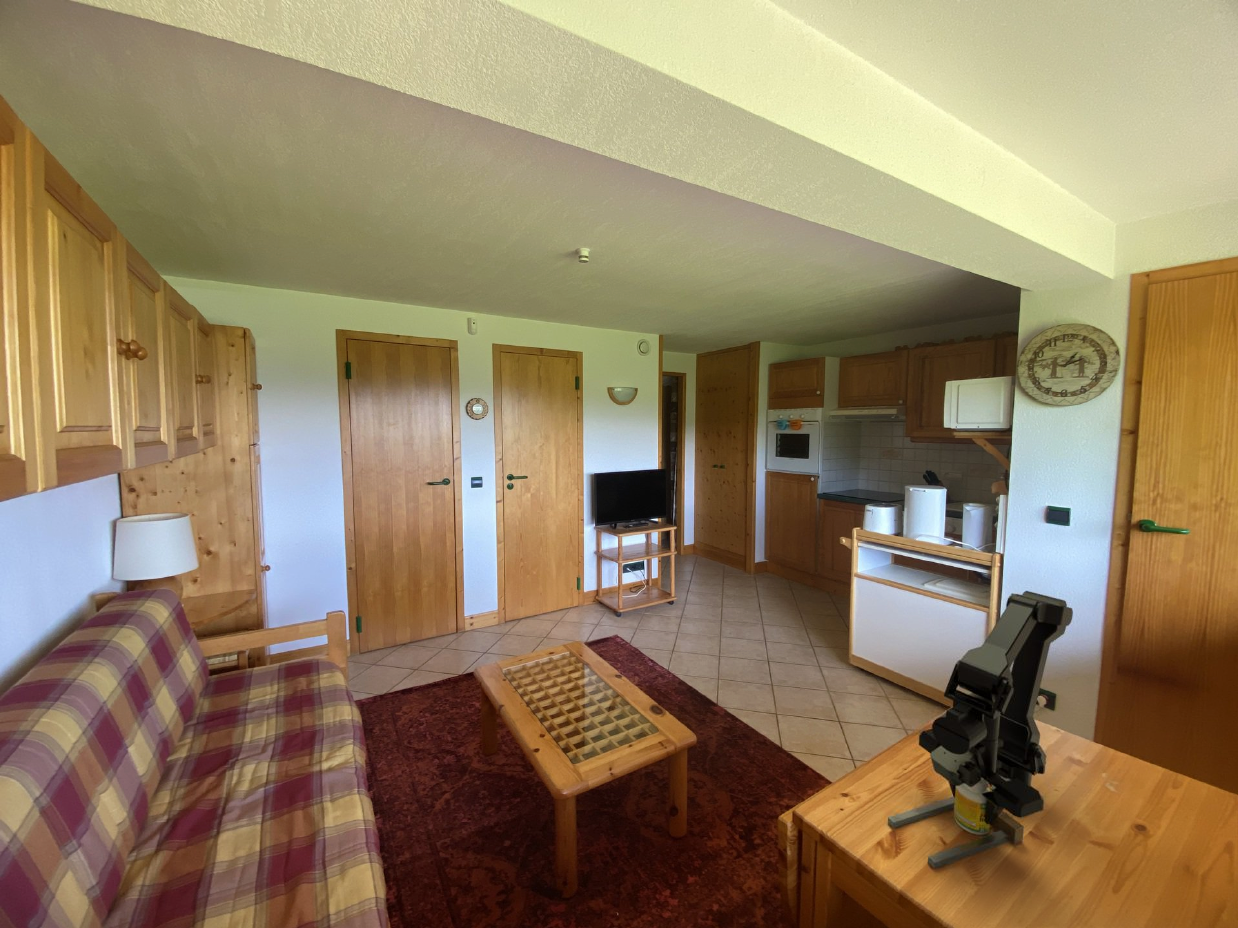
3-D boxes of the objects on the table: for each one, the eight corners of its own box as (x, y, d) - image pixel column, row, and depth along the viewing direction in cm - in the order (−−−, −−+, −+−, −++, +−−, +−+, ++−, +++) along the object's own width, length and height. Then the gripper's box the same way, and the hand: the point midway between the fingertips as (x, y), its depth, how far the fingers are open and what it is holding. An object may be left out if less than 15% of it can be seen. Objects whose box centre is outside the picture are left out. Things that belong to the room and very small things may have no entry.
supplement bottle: (961, 807, 93) (964, 760, 91) (994, 826, 88) (998, 778, 87) (947, 820, 90) (951, 772, 89) (982, 841, 85) (986, 791, 84)
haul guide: (961, 794, 95) (962, 780, 95) (1022, 841, 85) (1023, 826, 85) (884, 819, 90) (884, 804, 90) (938, 873, 80) (939, 856, 79)
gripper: (898, 708, 93) (894, 783, 95) (999, 778, 76) (991, 869, 77) (942, 697, 97) (938, 770, 98) (1049, 762, 79) (1041, 849, 81)
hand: (972, 810), depth 89 cm, fingers open, 6 cm apart
